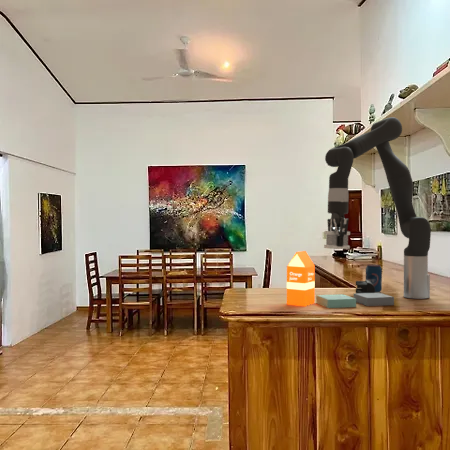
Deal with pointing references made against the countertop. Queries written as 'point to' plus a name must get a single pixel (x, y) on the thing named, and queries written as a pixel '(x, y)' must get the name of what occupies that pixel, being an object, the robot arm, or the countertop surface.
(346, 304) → the stand
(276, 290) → the countertop surface
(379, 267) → the soda can
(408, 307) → the countertop surface
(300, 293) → the orange juice
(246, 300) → the countertop surface
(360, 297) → the stand
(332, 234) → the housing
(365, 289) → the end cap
